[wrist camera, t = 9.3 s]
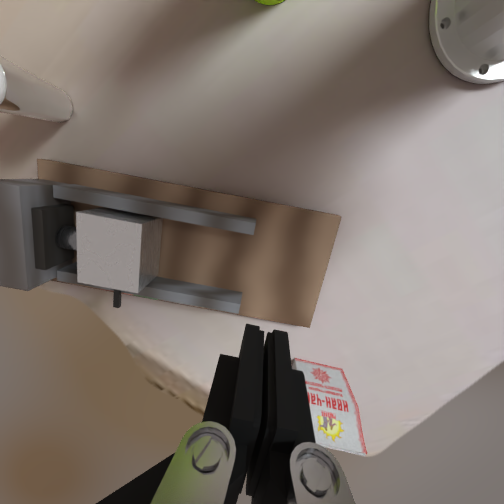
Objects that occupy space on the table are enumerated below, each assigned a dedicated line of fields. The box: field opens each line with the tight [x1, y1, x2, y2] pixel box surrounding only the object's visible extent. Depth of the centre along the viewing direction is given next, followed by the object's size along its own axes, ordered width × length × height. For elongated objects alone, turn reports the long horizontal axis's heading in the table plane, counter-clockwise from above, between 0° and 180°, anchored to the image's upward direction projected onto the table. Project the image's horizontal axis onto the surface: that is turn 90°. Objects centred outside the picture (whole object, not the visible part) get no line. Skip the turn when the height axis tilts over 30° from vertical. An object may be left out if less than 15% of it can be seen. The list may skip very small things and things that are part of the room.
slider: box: [56, 207, 163, 308], centre depth 26 cm, size 9×10×5 cm
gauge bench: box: [0, 159, 341, 328], centre depth 27 cm, size 33×14×8 cm, turn 80°
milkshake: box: [0, 55, 73, 122], centre depth 21 cm, size 4×5×10 cm
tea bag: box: [292, 358, 367, 456], centre depth 30 cm, size 4×7×10 cm, turn 76°
